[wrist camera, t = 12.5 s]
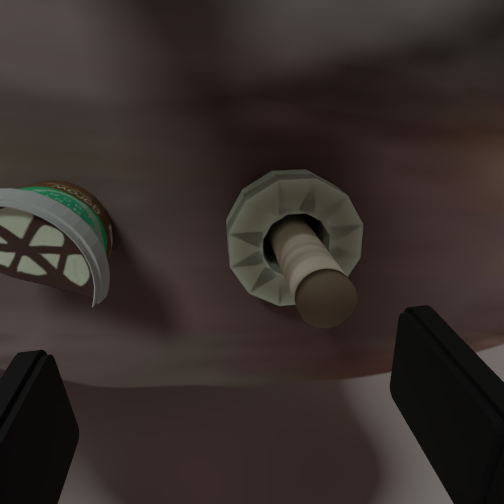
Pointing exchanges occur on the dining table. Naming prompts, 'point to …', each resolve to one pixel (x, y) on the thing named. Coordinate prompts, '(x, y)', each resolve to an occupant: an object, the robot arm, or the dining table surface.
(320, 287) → the peg
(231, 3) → the dining table surface
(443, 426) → the robot arm
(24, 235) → the food container
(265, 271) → the bead
